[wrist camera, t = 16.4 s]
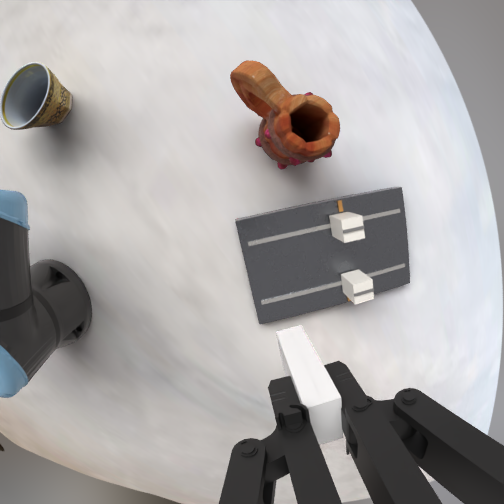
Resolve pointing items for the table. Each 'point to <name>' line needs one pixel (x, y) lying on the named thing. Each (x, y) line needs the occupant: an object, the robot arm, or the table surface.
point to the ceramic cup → (34, 98)
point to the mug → (286, 117)
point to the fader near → (347, 226)
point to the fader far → (357, 286)
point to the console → (322, 252)
